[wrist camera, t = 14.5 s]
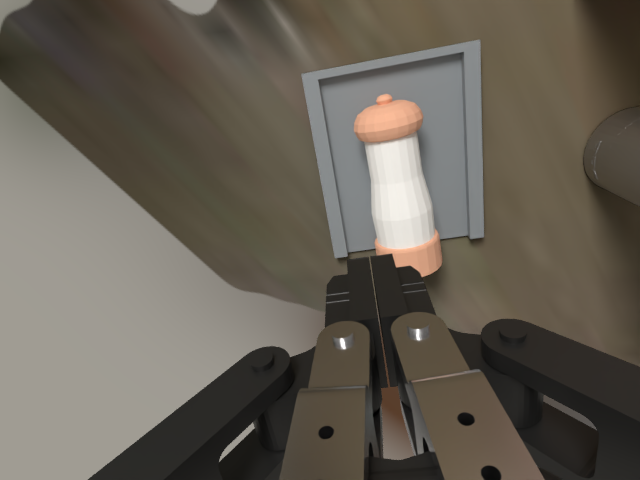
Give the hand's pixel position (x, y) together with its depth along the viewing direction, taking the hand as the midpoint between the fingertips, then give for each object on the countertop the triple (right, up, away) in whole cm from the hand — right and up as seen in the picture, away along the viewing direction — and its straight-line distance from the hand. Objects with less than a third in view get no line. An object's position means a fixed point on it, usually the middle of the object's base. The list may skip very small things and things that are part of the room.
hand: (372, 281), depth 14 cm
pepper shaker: (+9, -2, +34) cm, 35 cm away
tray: (+7, +11, +33) cm, 36 cm away
